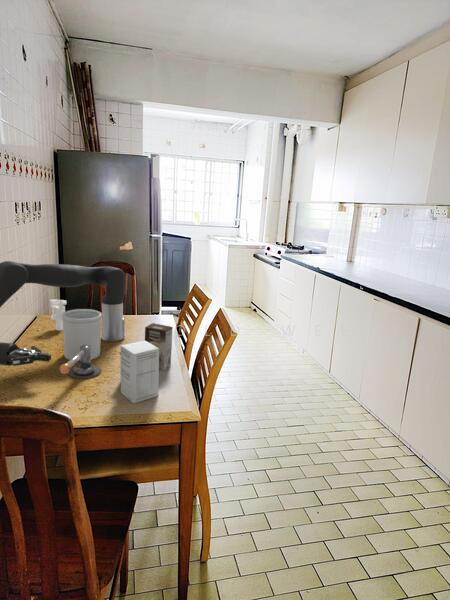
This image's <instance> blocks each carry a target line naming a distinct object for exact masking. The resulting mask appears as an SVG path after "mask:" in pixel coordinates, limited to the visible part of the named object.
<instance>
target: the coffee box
mask: <svg viewBox="0 0 450 600" xmlns="http://www.w3.org/2000/svg"><path fill="white" fill-rule="evenodd" d="M144 341H147V342H149V343H150V344H152V345H154V346H156V347H157V348H159V371H165V370H166V369H168V368H169V367H171V365H172V349H173V348H172V347H173V346H172V345H173V326H171V325H170V326H169V325H164V324H159V323H154V322H153V323H150V324H148V325H147V326H145V327H144ZM168 366H169V367H168ZM167 367H168V368H167Z"/></svg>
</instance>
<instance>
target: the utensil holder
mask: <svg viewBox="0 0 450 600" xmlns="http://www.w3.org/2000/svg"><path fill="white" fill-rule="evenodd" d="M62 319H63V330H62V334H63V335H62V336H63V355H64V358H65V359H67V360H68V361H70V360H71V359H72V358H73V357H74V356H75V355H77V354H78V353H79V352H80V346H82V345H90V346H91V360H93V359H96V358H98V357H99V356H100V354H101V339H102V311H98V310H96V309H90V308H75V309H70V310H65V312H64V313H63V314H62ZM78 362H80V360H79V361H78Z"/></svg>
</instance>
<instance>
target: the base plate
mask: <svg viewBox="0 0 450 600" xmlns="http://www.w3.org/2000/svg"><path fill="white" fill-rule="evenodd" d="M94 366H95V372H94V373H93V374H91V375H86V376H79V375H76V374H74V367H73V368H72V369H70V371H69V376H70V377H72V378H73V379H78V380H79V379H80V380H86V379H93V378H96V377H99V376H100V375H101V374H102V368H101V367H100V366H97V365H94Z"/></svg>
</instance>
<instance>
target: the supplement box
mask: <svg viewBox="0 0 450 600" xmlns="http://www.w3.org/2000/svg"><path fill="white" fill-rule="evenodd" d="M119 347H120V351H119V354H120V353H121V355H120V394H122V395H123V396H124V397H125V398H126V399H127V400H129V402H131V403H132V404H136V403H140V402H143V401H145V400H149V399H152V398H155V397H158V396H159V383H160V382H159V379H160V378H159V376H160V375H159V374H160V372H159V371H160V369H159V348H157V347H156V346H154V345H152V344H150V343H149V342H147V341H145V340H141V341H136V342H132V343H131V342H130V343H126V344H121V345H120V346H119Z"/></svg>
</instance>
